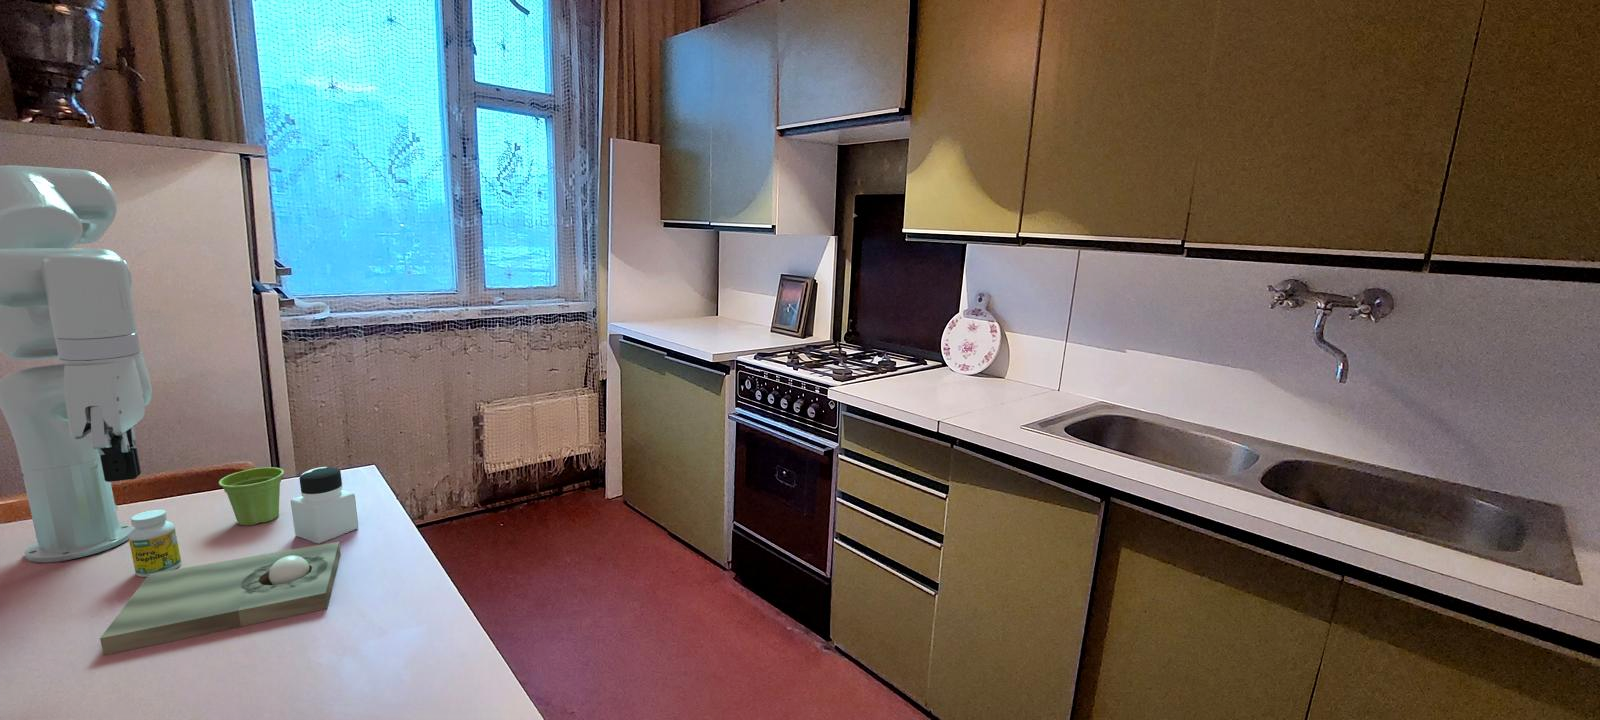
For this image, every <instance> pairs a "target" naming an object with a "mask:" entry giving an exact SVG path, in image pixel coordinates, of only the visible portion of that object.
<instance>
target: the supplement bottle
mask: <svg viewBox="0 0 1600 720" xmlns="http://www.w3.org/2000/svg"><path fill="white" fill-rule="evenodd" d="M167 518H168V516H167V512H166V510H164V509H154V510H153V509H151V510H147V511H144V512H143V511H142V512H140V513H137V514H134V515H132V516H131V518H130V520H131V527H132V529H133V530H131V531H130V533H129V535H128V538H129V539H128V543H129V548H130V552H131V557H132V562H133V567H134V571H135V574H136V576H137V577H141V578H147V576H148V575H149V574H152V573H158V572H164V571H170V570H175V569H179V567H180V565H181V564H182V559H181V558H182V557H181V553H180V548H179V547H180V546H179V543H178V536H177V533H176V532H177V531H176V526H175V524H174V523H173V522H171V521H168V520H167Z"/></svg>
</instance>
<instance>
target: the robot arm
mask: <svg viewBox="0 0 1600 720" xmlns="http://www.w3.org/2000/svg"><path fill="white" fill-rule="evenodd" d="M117 213H118V202H117V197H116V195H115V192H114V190H113V188H112V187H111V185H110V184H109V183H108V182H107V181H106V179H105V178H103V177H102V176H101V175H99V174H97V173H96V172H94V171H93V172H92V171H91V170H90V171H89V170H86V169H77V168H76V169H75V168H61V167H59V168H58V167H48V166H32V165H15V164H14V165H13V164H12V165H9V164H7V165H0V352H1V353H2V354H3V355H4V356H6V358H9V359H13V360H18V361H34V360H49V359H50V360H51V359H58V361H59V363H58V364H51V365H41V366H34V367H33V366H32V367H26V368H23V369H19V370H16V371H12V372H10V373H8V374H6V375H4V376H3V377H2V378H0V410H1V412H2V414H3V416H4V418H5V420H6V423H7V424H8V427H9V430H10V432H11V434H12V438H13V440H14V444H15V448H16V452H17V456H18V460H19V465H20V468H21V473H22V478H23V482H24V487H25V491H26V496H27V500H28V504H29V505H28V506H29V509H30V513H31V520H32V523H33V528H34V531H35V537H36V542H33V543H32V544H31V545H29V546H28V547H27V548H26V549H25V551H24V554H25V555H24V556H25V559H26V560H27V561H30V562H34V563H55V562H57V563H58V562H64V561H70V560H76V559H79V558H84V557H87V556H88V557H89V556H92V555H96V554H99V553H101V552H104V551H108V550H110V549H113V548H116V547H117V546H119V545H122V544H123V543H125V542H126V541H129V538H128V535H129V533H130V531H131V530H133V529H134V528H133V526H132V525H130V524H127V523H120V522H119V520H118V519H119V518H118V515H117V511H118V509H119V507H118V505H117V504H116V503H115V498H114V492H113V489H112V482H121V481H128V480H135V479H137V478H138V477H139V476H140V475H141V473H142V471H141V466H140V459H139V454H138V449H137V447H136V446H137V439H136V430H135V429H136V428H135V427H136V425H137V424H138V423H139V422H140V421H141V420H142V419H144V417H145V413H146V408H145V407H146V406H148V405H149V404H150V403H151V401H152V398H153V387H152V383H151V378H150V374H149V371H148V367H147V365H146V361H145V357H144V355H143V352H142V349H141V344H140V340H139V332H138V327H137V320H136V316H135V315H136V314H135V309H134V303H133V297H132V292H131V287H132V282H133V281H132V273H131V271H130V266H129V264H128V262H127V261H126V260H125V259H122V257H121V256H120V255H119V254H117V253H116V252H114V251H112V250H109V249H107V248H97V247H96V248H94V247H75V246H76V245H85V244H87V245H88V244H94V243H95V242H98V241H99V240H100V239H102V237H103V236H104V234H105V233H106V232H107V230H108V229H110V227H111V225H112V224H113V223H114V220H115V219H116V216H117ZM74 247H75V248H74Z"/></svg>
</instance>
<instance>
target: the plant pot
mask: <svg viewBox="0 0 1600 720" xmlns="http://www.w3.org/2000/svg"><path fill="white" fill-rule="evenodd" d="M284 474H285V471H284V469H283V468H280V467H273V466H272V467H271V466H269V467H256V468H251V469H250V468H249V469H246V470H241V471H237V472H233V473H231V474H228V475H226V476H224V477H222V478H221V479H219V481H218V485H219V487H222V488H223V491H224V492H225V493H226V495H227V497H228V500H229V502H230V505H231V508H232V511H233V513H234V516H235V519H236V523H237V524H238V525H241V526H254V525H257V524H259V523H268V522H270V521H271V522H272V520H275V519H276V518H277V517H278V516H279V515H280V495H281V494H280V493H281V492H280V488H281V482H282V478H283V477H282V476H283V475H284Z"/></svg>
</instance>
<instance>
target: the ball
mask: <svg viewBox="0 0 1600 720" xmlns="http://www.w3.org/2000/svg"><path fill="white" fill-rule="evenodd" d="M308 573H309V564H308V562H307V561H306V560H305V559H304V558H302V557H300V556H294V555H292V556H286V557H283V558H281V559H279V560H278V561H276V562H275V563H274V564H273V565H272V567H271V569H270V571H269V580H270V582H271V583H272V584H273V585H280V584H285V583H290V582H292V581H295V580H297V579H300V578H303V577H304V576H305V575H307V574H308Z"/></svg>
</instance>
